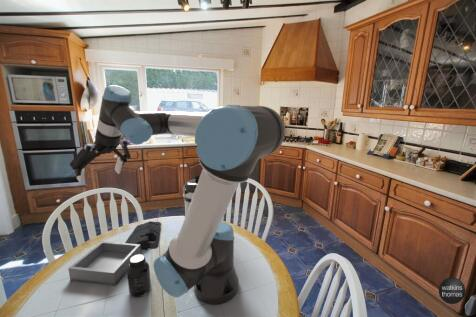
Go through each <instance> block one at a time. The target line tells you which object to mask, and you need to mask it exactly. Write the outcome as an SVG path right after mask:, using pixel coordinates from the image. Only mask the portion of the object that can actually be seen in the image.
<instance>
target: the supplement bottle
mask: <svg viewBox="0 0 476 317" xmlns="http://www.w3.org/2000/svg"><path fill="white" fill-rule="evenodd" d="M126 276H127V283H128V284H127V285H128V292H129V295H130V296H131V297H133V298H139V297H143V296H145V295H147V294H148V293H149V292H150V290H151V288H152V281H151V272H150V264H149V262H148V261H146V256H145V254H142V253H141V254H137V255H134V256H132V257H131V258H130V260H129V267H128V269H127V273H126Z"/></svg>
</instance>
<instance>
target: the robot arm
mask: <svg viewBox="0 0 476 317" xmlns="http://www.w3.org/2000/svg"><path fill="white" fill-rule="evenodd" d="M102 95H103V96H102V97H101V99H102V100H101V102H100V103H101V104H100V110H99V116H98V120H97V124H96V125H97V126H96V131H95V134H94V135H95V136H94V138H95V140H94V142H93V143H89V142H88V141H87V142H86V141H85V142H84V143H83V145H82V148H81V149H80V150H79V152H77V154H76V156H75V157H73V159H72V160H71V161H70V162H69V166H70V167H71V169H72V170H74V173H75V175H76V180H77V181H78V182H79V184H83V183H84V177H85V171H86V167H87V166H88V165H89V164H90V163H91V162H92V161H94V160H95V159H96V158H98V157H100V156H101V155H106V154H111V153H112V152H114V154H116V155H117V158H116V162H115V165H114V171H115V173H116V174H118V175H120V174H121V171H122V167H123V166H124V164H125V163H127V162H128V159H131V153H130V151H129V148H128V142H130V143H131V144H133V145H142V144H143V143H145V142H148V141H149V140H150V139H151V137H152V136H158V135H175V136H176V135H178V136H187V137H192V138H194V143H195V144H196V146H197V147H196V148H195V151H196V153H197V156H198V162H199V164H200V166H201V168H202V170H201V173H200V175H199V177H200V178H199V181H198V184H197V186H196V189H195V192H194V195H193V197H192V200H191V203H190V206H189V209H188V211H187V214H186V217H185V216H184V220H183V223H182V226H181V228H180V231H179V233H177V234H176V235H173V237H172V238H171V240H170V242H169V243H168V244H169V245H168V247H167V250H166V252H164V253H163V254H160V255H159V256H158V257H156V258H155V259H154V262H153V270H154V275H155V277H156V280H157V281H158V283H159V284H160V286H161V287H162V289H163V290H164V291H165V293H166V294H168V295H169V296H171V297H172V298H181V297H182V296H184V294H186V293H189V291H190V290H191V289H193V291H194V295H195V296H196V298H197V299H198V300H199V301H200V302H203V303H205V304H209V305H220V304H224V303H227V302H229V301H230V300H232V299H233V298H234V297H235V296H236V295H237V293H238V291H239V284H240V283H239V278H238V275H237V274H238V273H237V271H236V268H235V265H234V258H235V257H234V255H235V254H234V253H235V252H234V247H235V246H234V245H235V241H234V240H235V236H234V235H235V234H234V233H235V232H234V228H233V226H232V225H231V224H230V223H227V222H226V221H222V220H223V218H224V217H225V214H226V211H227V209H228V207H229V205H230V203H231V201H232V199H233V197H234V195H235V192H236V191H237V188H238V186H239V184H242V183H245V182H247V181H248V180H249V178H250V177H251V175H252V173H253V171H254V169H255V167H256V165H257V164H258V160H260V159H262V158H266V157H267V156H271V155H273V153H275V152H277V151H278V150H279V149H280V148H281V146H282V144H283V142H284V140H285V135H286V126H285V122H284V120H283V118H282V117H281V115H280V114H279V113H278V112H277V111H276V110H275V109H272V108H270V107H268V106H263V105H256V106H255V105H240V104H227V105H225V106H217V107H215V108H213V109H211V110H208V112H197V111H195V112H194V111H190V112H189V111H176V110H168V111H165V110H164V111H137V110H136V108H135V107H134V106H133V105H132V104H131V102H132V93H131V92H130V90H129V89H127V88H125V87H123V86H120V85H114V84H112V85H111V84H110V85H107V86H106V87H105V88H104V92H103V94H102ZM122 135H123V137H122ZM118 146H120V147H121V148H122V152H123V154H122V152H121V151H119V149H118Z"/></svg>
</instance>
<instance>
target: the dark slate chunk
mask: <svg viewBox="0 0 476 317" xmlns="http://www.w3.org/2000/svg"><path fill="white" fill-rule="evenodd" d="M161 228H162V222H161V221H147V222H144V223H141V224H138V225H136V226H135V228H134V229H133V231H132V232H131V234H130V235H129V236H128V238H127V239H126V241H125V242H124V243H129V244H140V246H141V251H146V250H149V249H150V250H151V249H153V248H155V249H156V248H157V247H158V246H159V244H160V242H159V241H160V238H161V236H160V235H161Z"/></svg>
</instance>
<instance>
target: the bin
mask: <svg viewBox="0 0 476 317" xmlns="http://www.w3.org/2000/svg"><path fill="white" fill-rule="evenodd" d="M137 254H142V250H141V246H140V244H129V243H125V242H118V241H117V242H116V241H103V240H102V241H101V242H99V243H98V244H97V245H95V246H94V247H93V248H92V249H91V250H89V251H88V252H87V253H86V254H84V255H83V256H81V257H80V258H79V259H78V260H77V261H76V262H74V263H73V264H72V265H70V266H69V267H68V274H69V280H70V282H79V283H87V284H98V285H103V286H104V285H106V286H113V287H115V286H116V285H118V283H119V282H120V281H121V279H123V277H124V276H125V275H127V269H128V267H129V260H130V258H131V257H132V256H134V255H137Z"/></svg>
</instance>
